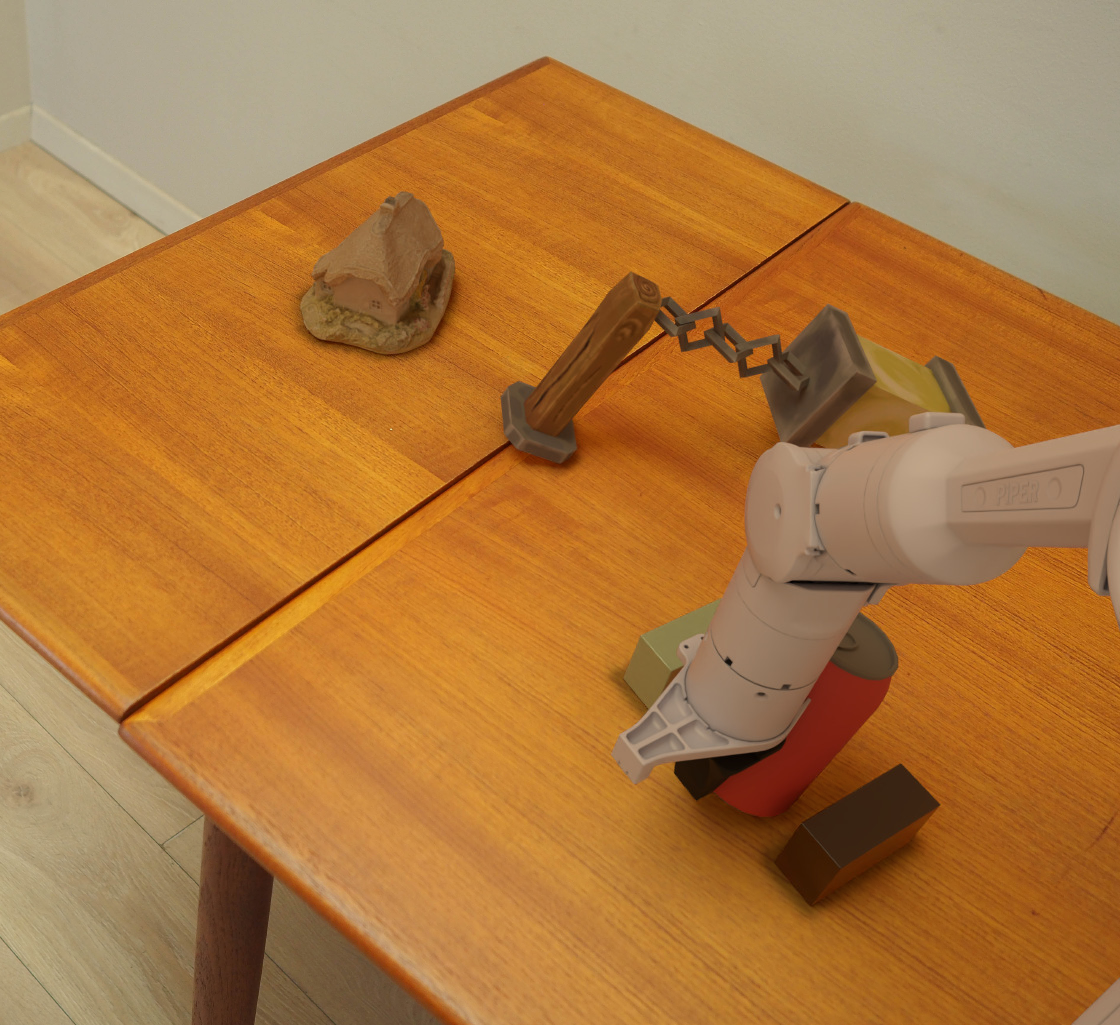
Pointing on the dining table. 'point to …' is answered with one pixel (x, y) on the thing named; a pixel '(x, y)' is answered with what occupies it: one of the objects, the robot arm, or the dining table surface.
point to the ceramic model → (383, 281)
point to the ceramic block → (664, 653)
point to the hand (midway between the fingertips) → (689, 784)
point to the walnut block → (855, 833)
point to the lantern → (741, 376)
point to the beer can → (820, 723)
